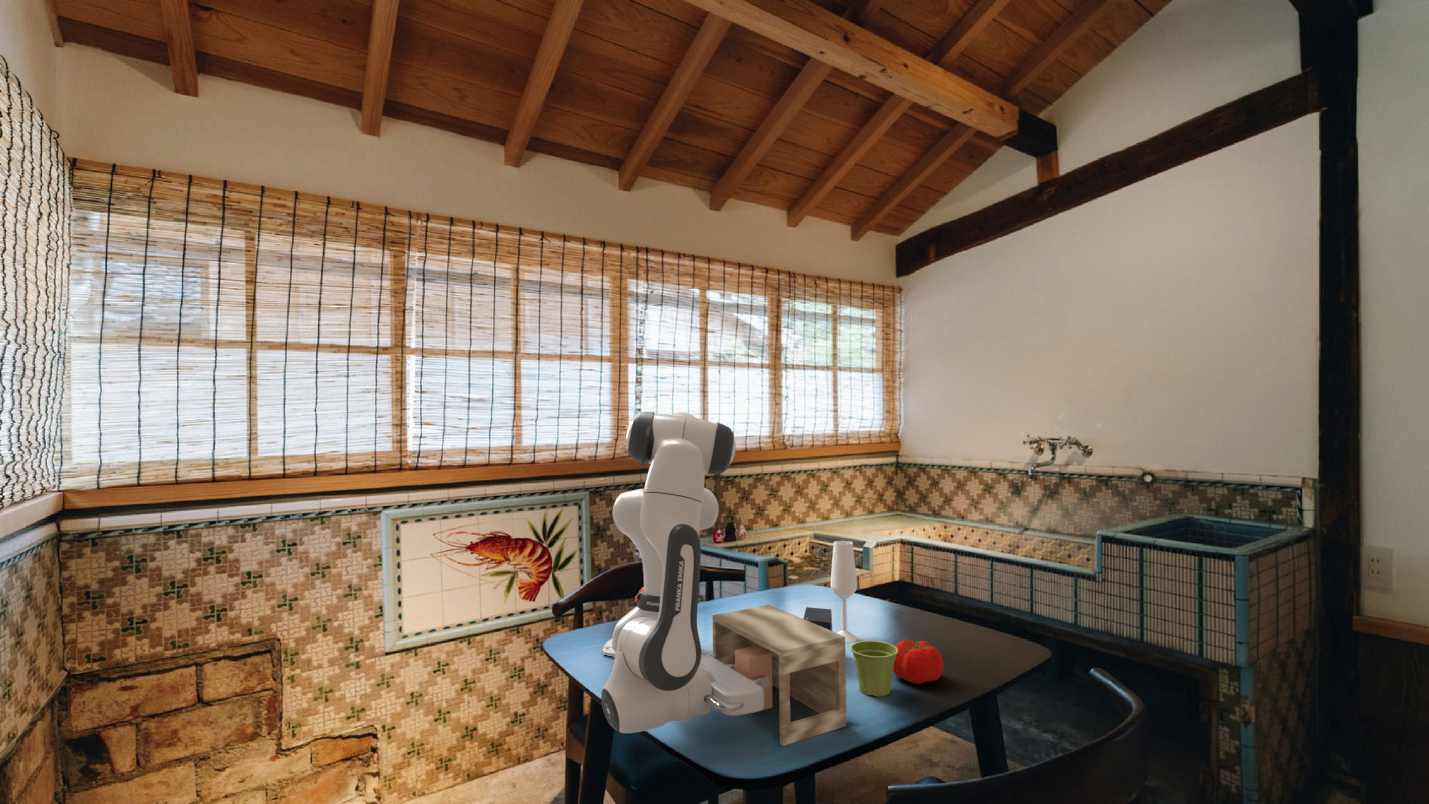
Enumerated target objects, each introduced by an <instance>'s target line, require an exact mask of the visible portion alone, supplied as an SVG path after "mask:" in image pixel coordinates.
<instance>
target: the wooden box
mask: <svg viewBox="0 0 1429 804" xmlns="http://www.w3.org/2000/svg"><path fill="white" fill-rule="evenodd" d="M711 616H712V657H714V658H715V659H717V660H719V661H720V662H722V663H724V664H725V665H727V664H731V665H735V650H738V649H742V648H747V647H752V646H756V645H757V646H759V647H761V648H763V649H765V650H767V651H769V652H771V653H772V687H774V688H776V689H778V697H779V699H778V700H779V702H778V703H779V704H778V705H779V706H778V707H779V709H778V710H779V711H778V712H779V744H780V745H781V746H787V745H792V744H794V743H796V742H799V741H800V742H801V741H804V740H806V739H809V738H812V737H816V736H819V735H821V734H826V733H828V732H829V733H830V732H832V731H835V730H837V729H842V728H844V727H847V684H846V683H847V680H846V678H847V675H846V673H847V672H846V671H847V669H846V663H847V662H846V642H845V636H842V635H840V634H838V632H835V631H833V630H832V631H831V630H828V629H826V628H823V627H821V626H819V625H816V624H814V623H811V622H809V621H807V620H804V619H803V618H802V617H800V616H797V615H795V614H792V613H791V612H790V613H789V612H787V611H786V610H783V609H780V608H778V607H776V606H773V605H770V604H767V605H762V606H757V607H751V608H745V609H739V610H734V611H729V612H723V613H717V614H712V615H711ZM790 697H791V698H792V699H795V700H796V701H798V702H800V703H801V704H803V705H805V706H806V707H808V708H810V710H813V711H814V712H816V713H818V714H815V715H811V716H807V717H804V718H800V719H798V720H794V721H791V698H790Z"/></svg>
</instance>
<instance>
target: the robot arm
mask: <svg viewBox="0 0 1429 804" xmlns="http://www.w3.org/2000/svg"><path fill="white" fill-rule="evenodd" d="M625 442H626V443H625V445H626V448H627V453H628V455H629V456H630V457H631V459H632V460H634V461H635V462H636V463H639V464H640V465H641V467H645V464H649V465H650V466H649V469H648V472H647V475H646V478H645V479H646V480H645V484H644V488H638V489H634V490H633V489H632V490H629V491H625V492H622V493H621V492H620V494H619V495H618V496H617V497H616V500H615V501H614V503H613V507H612V518H613V522H614V525H615V527H616V528H617V530H619V531H620V532H621V533H622V534H624V535H625V536H627V538H629V539H630V541H632V543H633V544H634V545H635V546H636V548H637V550H638V552H639V554H640V555H639V556H640V558H641V562H642V571H643V572H642V573H643V587H641V589H639V591H638V593H637V594H636V596H635V597H634V603H636V606H635V607H634V608H632V609H631V610H630V611H629V612H627V613H626V614H625V615H624V616H623V617H621V618H620V619H619V620H618V621H617V623H616V624H615V627H614V630H613V633H612V638H610V639H608V640H607V641H606V642H605V644H604V645H603V648H602V655H603V654H605V655H608V656H615V657H614V661H613V665H612V669H611V672H610V675H609V677H608V679H607V681H606V683H605V685H604V686H603V688H602V690H601V697H600V699H601V705H602V707H601V708H602V711H603V714H604V717H605V718H606V720H607V722H608V724H609V725H610V726H611V727H612V728H613V730H615V731H617V732H618V733H622V734H634V733H640V732H645V731H650V730H653V729H657V728H661V727H663V726H664V725H666V724H668V723H671V722H685V721H688V720H692V719H696V718H699V717H700V718H701V717H703V716H706V715H708V714H709V713H710V712H711V710H712V707H713V708H714V709H715V710H716V711H719V712H721V713H723V714H724V715H726V716H735V717H736V716H742V715H748V714H750V713H751V714H754V713H757V712H762V711H763V710H762V709H763V708H764V707H765V690H764V688H766V687H768V686H769V678H768V677H766V676H765V675H761V676H757V679H756V680H750V679H748V678H746V677H745V676H743V675H742V674H740V673H738V672H737V671H735V665H731V664H727V665H725V664H724V663H722V662H720V661H719V660H717V659H715V658H714V657H713V655H709V654H702V646H701V640H700V636H699V631H698V629H699V628H698V608H699V607H698V606H699V591H700V590H699V589H700V575H701V558H702V556H701V555H702V554H701V553H702V552H701V540H700V539H701V538H700V531H703V530H707V529H711V528H712V527H713V526H714V524H715V523H716V522H717V520H718V516H719V510H720V509H719V503H718V499H717V497H716V495H714V493H713V492H712V491H711V490H710V489H708V488H705V473H707V475H721V474H723V473H724V472H726V471H727V470H728V469H729V466H730V465H731V464H732V462H733V461H734V457H735V455H736V450H737V449H736V446H737V445H736V441H735V435H734V432H733V430H732V429H731V428H730V427H729V426H727V425H725V424H723V423H721V422H720V423H719V422H711V421H708V420H706V419H703V418H702V419H701V418H697V417H695V415H693V414H690V413H687V412H675V413H672V414H670V413H669V414H668V413H665V414H664V413H655V411H641V412H639V413H637V414H636V415H635V416H634V417H633V419H632V421H630V424H629V426H628V427H627V430H626V435H625ZM608 656H607V657H608ZM761 710H762V711H761ZM753 712H754V713H753Z"/></svg>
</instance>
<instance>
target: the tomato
mask: <svg viewBox="0 0 1429 804" xmlns="http://www.w3.org/2000/svg"><path fill="white" fill-rule="evenodd" d="M894 646H895V647H896V648H897V649H898V653H897V655H896V658H895V661H894V666H893V673H894V675H896V676H897V677H898V678H900V679H901V680H904V681H907V682H909V683H912V684H916V685H917V684H919V685H921V684H923V683H925V682H928V683H932V682H935V681H937V680H939V679H940V677H941V675H942V673H943V671H944V666H945V664H944V658H943V656H942V654H941V652H940V651H939V650H938V648H936V647H934V646H933V645H931V644H930V643H929V641H923V640H920V641H918V640H915V642H914V641H913V640H912V639H909V638H907V639H901V640H900V641H899V642H898V643H896V644H894Z"/></svg>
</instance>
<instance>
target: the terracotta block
mask: <svg viewBox="0 0 1429 804" xmlns="http://www.w3.org/2000/svg"><path fill="white" fill-rule="evenodd" d="M735 671H737V672H738V673H740V674H742V675H743V676H745V677H746V678H748V679H750V680H756V679H757V676H761V675H765V676H766V677H768V678H769V686H768V687H766V688H764V690H765V707H764V708H763V709H762V710H761V711H760V712H762V711H765V710H768V709H772V708H773V685H772V653H771V652H769V651H767V650H765V649H763V648H761V647H759V646H757V645H756V646H752V647H747V648H742V649H738V650H735ZM754 713H755V712H753V713H749V714H754Z"/></svg>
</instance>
